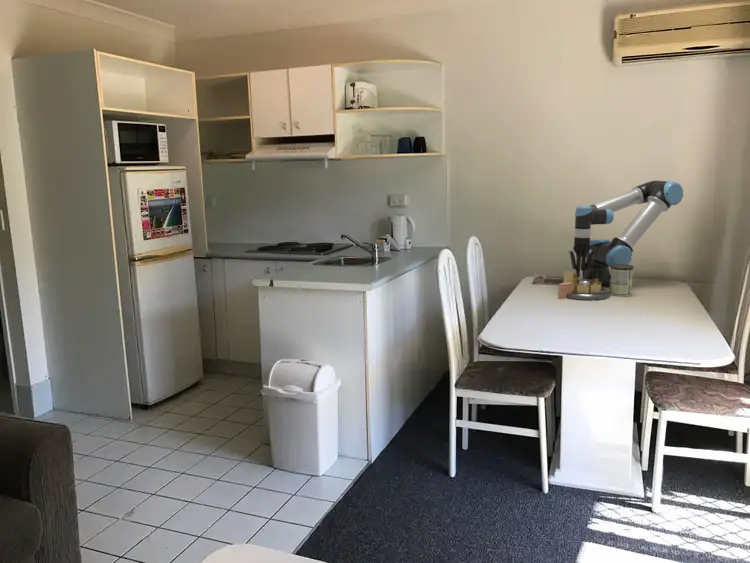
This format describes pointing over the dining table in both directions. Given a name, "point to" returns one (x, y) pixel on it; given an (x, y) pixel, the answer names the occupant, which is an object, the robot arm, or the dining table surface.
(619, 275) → the coffee can
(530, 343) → the dining table surface
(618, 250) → the robot arm
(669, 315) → the dining table surface
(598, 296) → the plate
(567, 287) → the block
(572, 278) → the gold octagonal ring
